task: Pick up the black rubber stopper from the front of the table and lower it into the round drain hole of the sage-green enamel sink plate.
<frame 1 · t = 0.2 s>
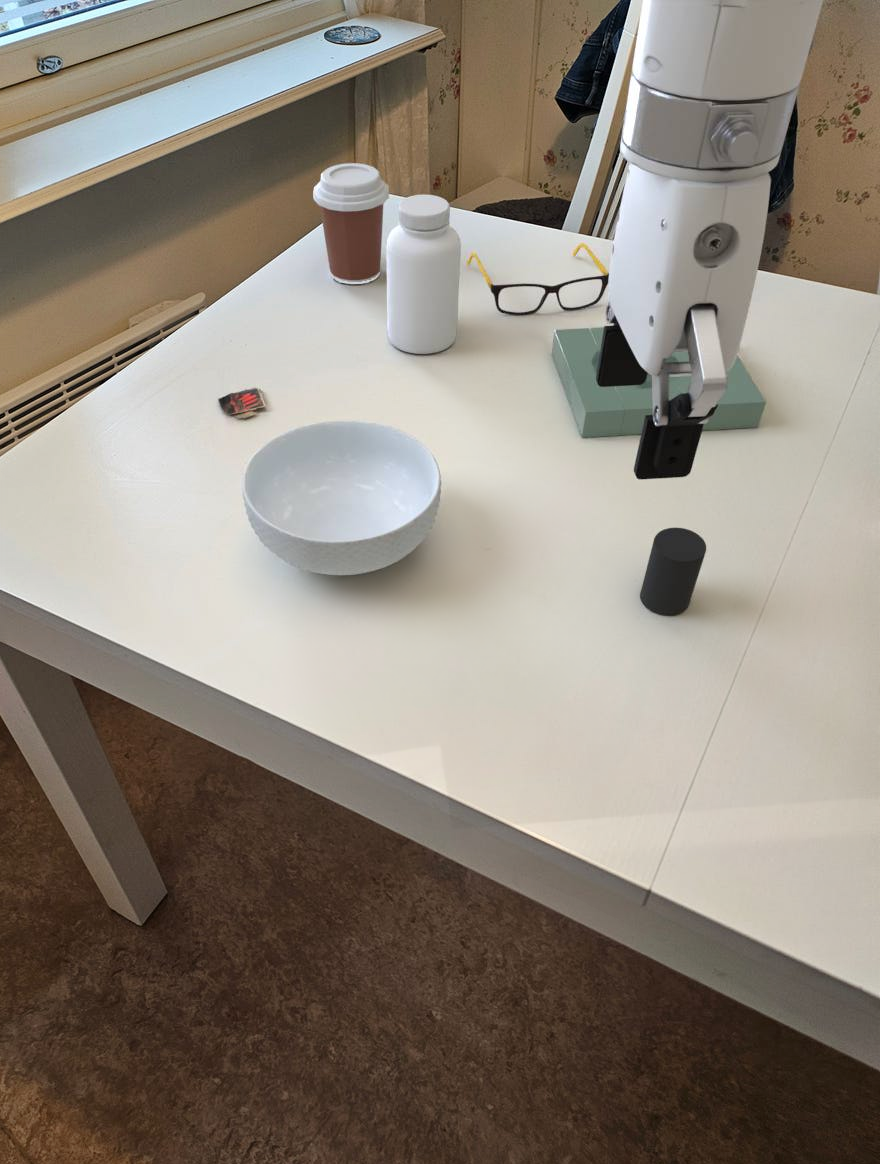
hand: (639, 426, 55), 21 cm above the table, tool pointing down, fingers open, 9 cm apart
pill bottle: (422, 340, 103), on the table
sink plate: (649, 389, 95), on the table
eyeglasses: (534, 288, 111), on the table
coffee cup: (355, 275, 115), on the table
matchbox: (243, 407, 94), on the table
cereal bowl: (346, 540, 80), on the table
stopper: (664, 598, 74), on the table
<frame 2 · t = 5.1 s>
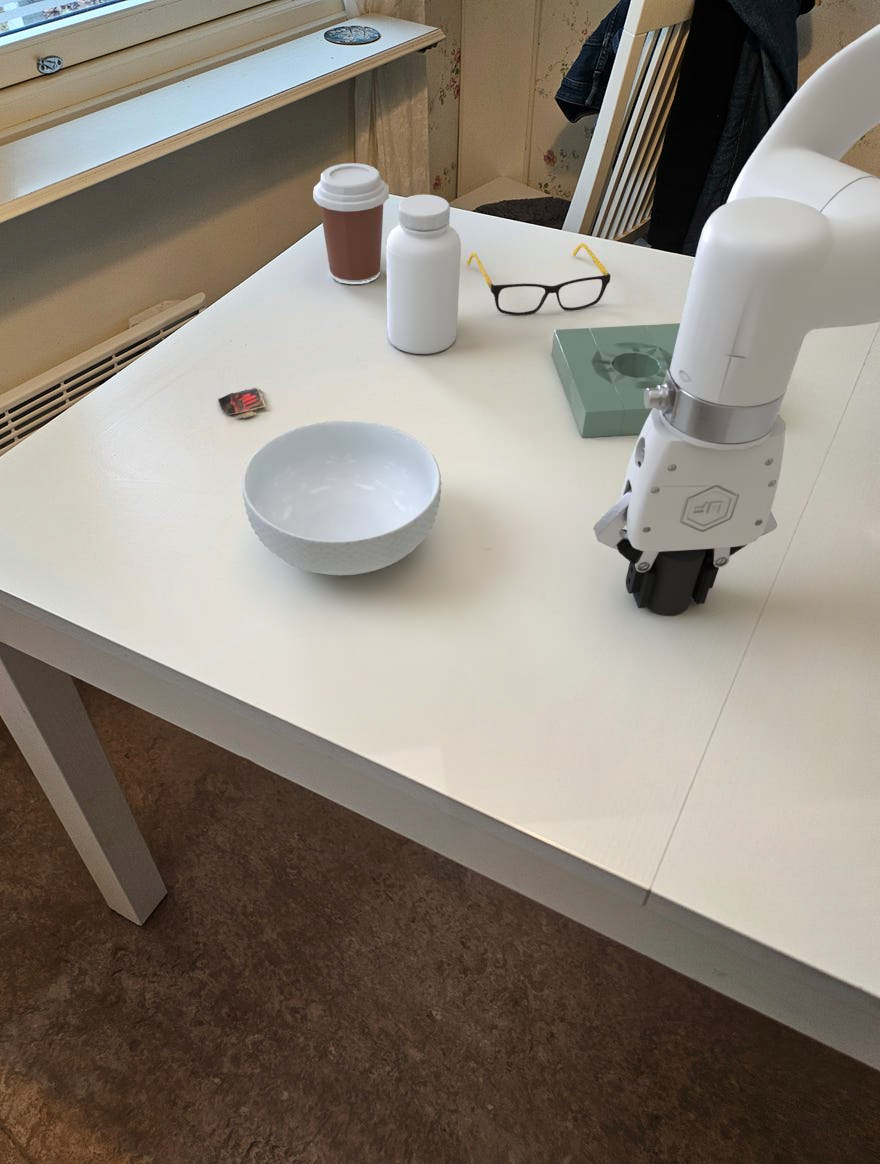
hand: (666, 592, 74), 1 cm above the table, tool pointing down, fingers closed on stopper, 4 cm apart
stopper: (664, 598, 74), on the table, touching gripper
everything else where it was.
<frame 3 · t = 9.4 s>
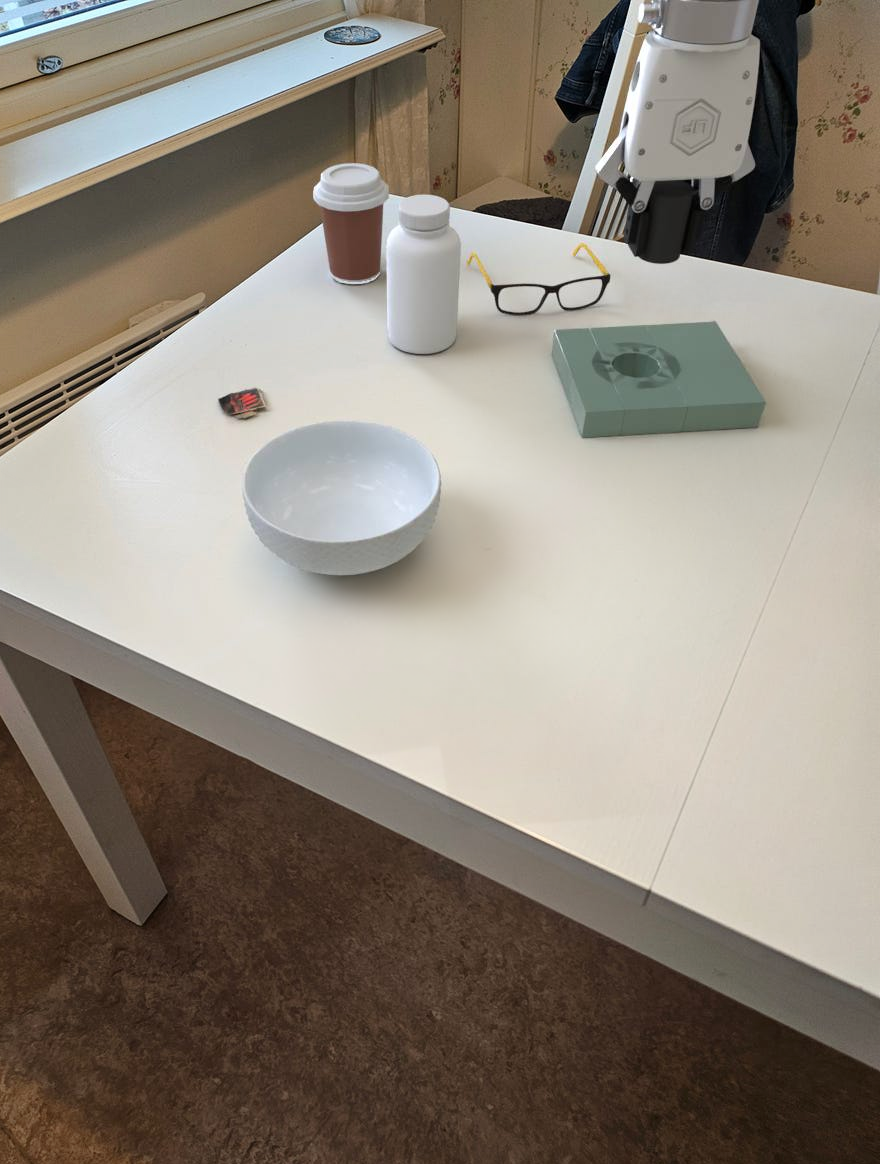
hand: (659, 247, 84), 15 cm above the table, tool pointing down, fingers closed on stopper, 4 cm apart
stopper: (658, 254, 85), point 15 cm above the table, touching gripper
everything else where it was.
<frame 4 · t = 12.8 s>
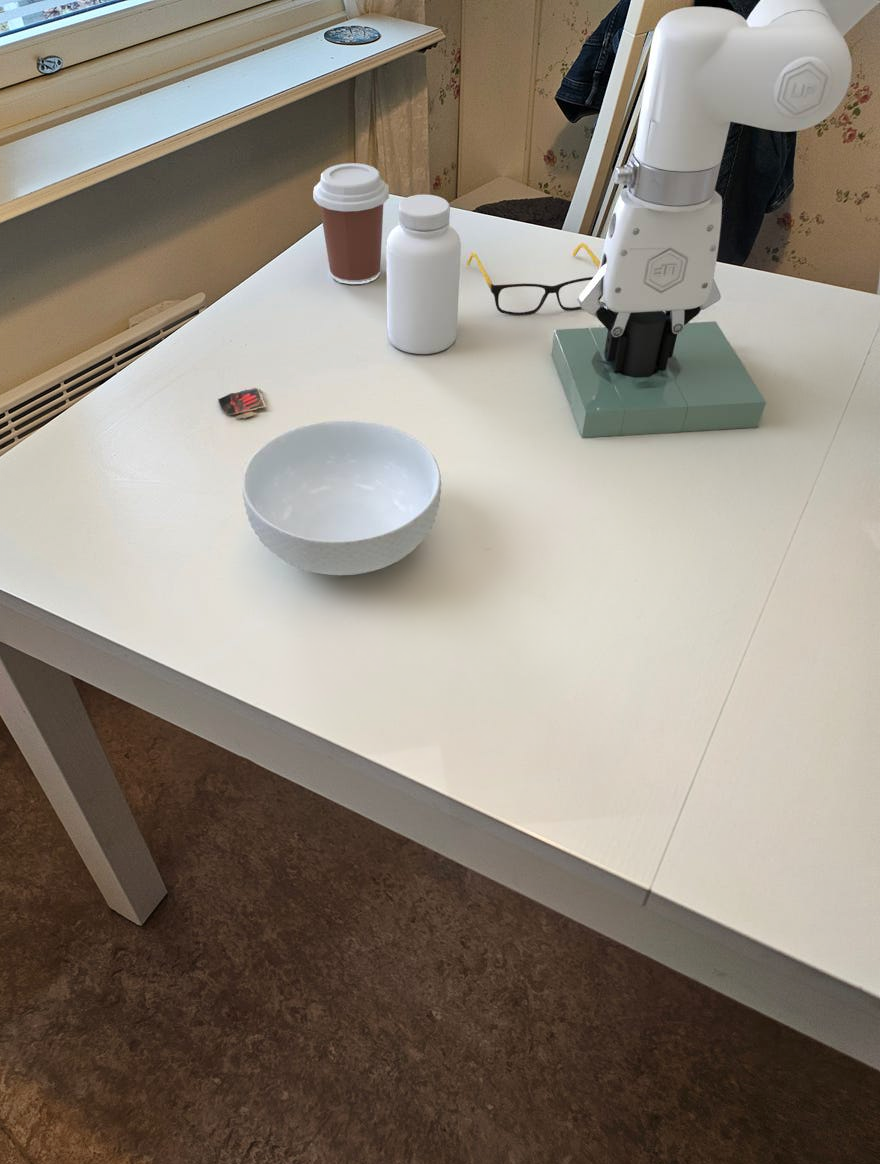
hand: (636, 362, 93), 3 cm above the table, tool pointing down, fingers closed on stopper, 4 cm apart
stopper: (635, 369, 94), point 3 cm above the table, touching gripper
everything else where it was.
when the fingers open (3 cm above the table, at t = 13.6 s): stopper drops 3 cm, resting in sink plate.
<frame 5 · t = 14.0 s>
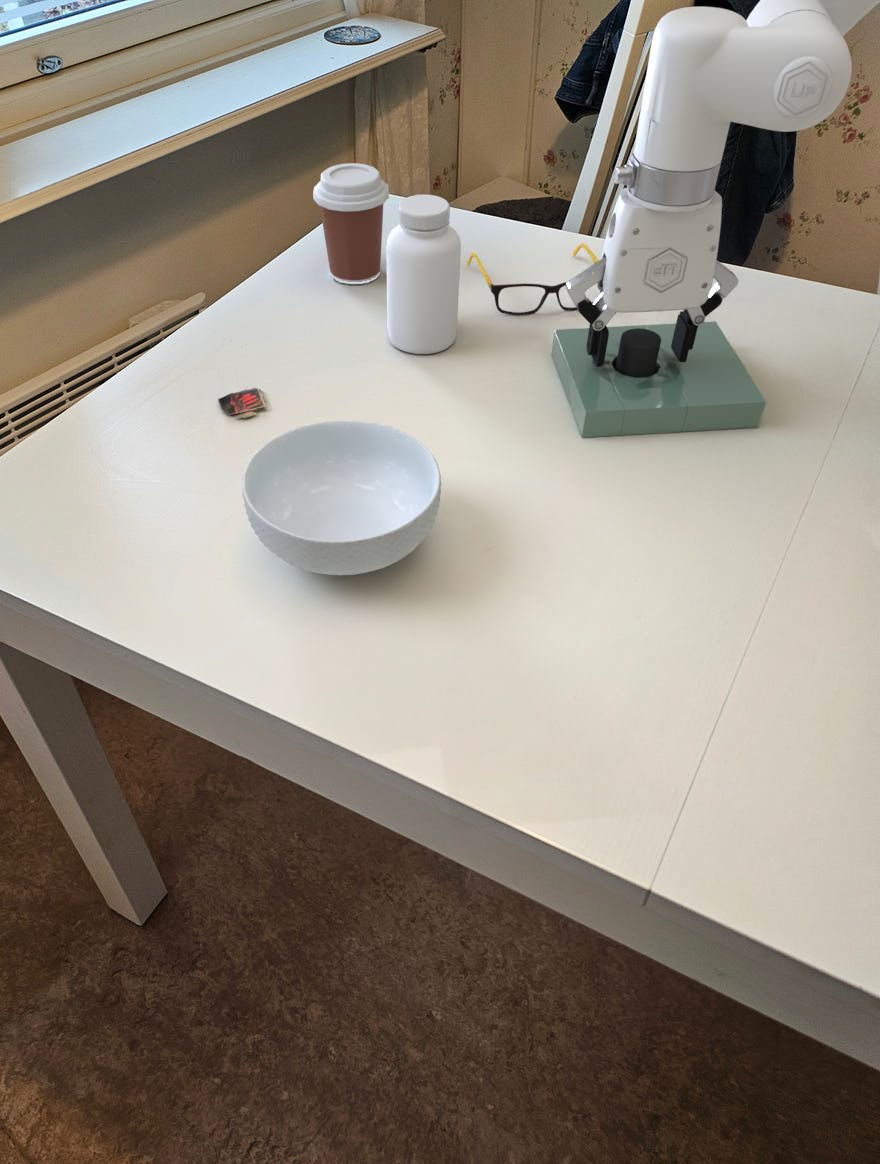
hand: (637, 356, 92), 4 cm above the table, tool pointing down, fingers open, 8 cm apart
stopper: (630, 390, 95), resting in sink plate
everything else where it was.
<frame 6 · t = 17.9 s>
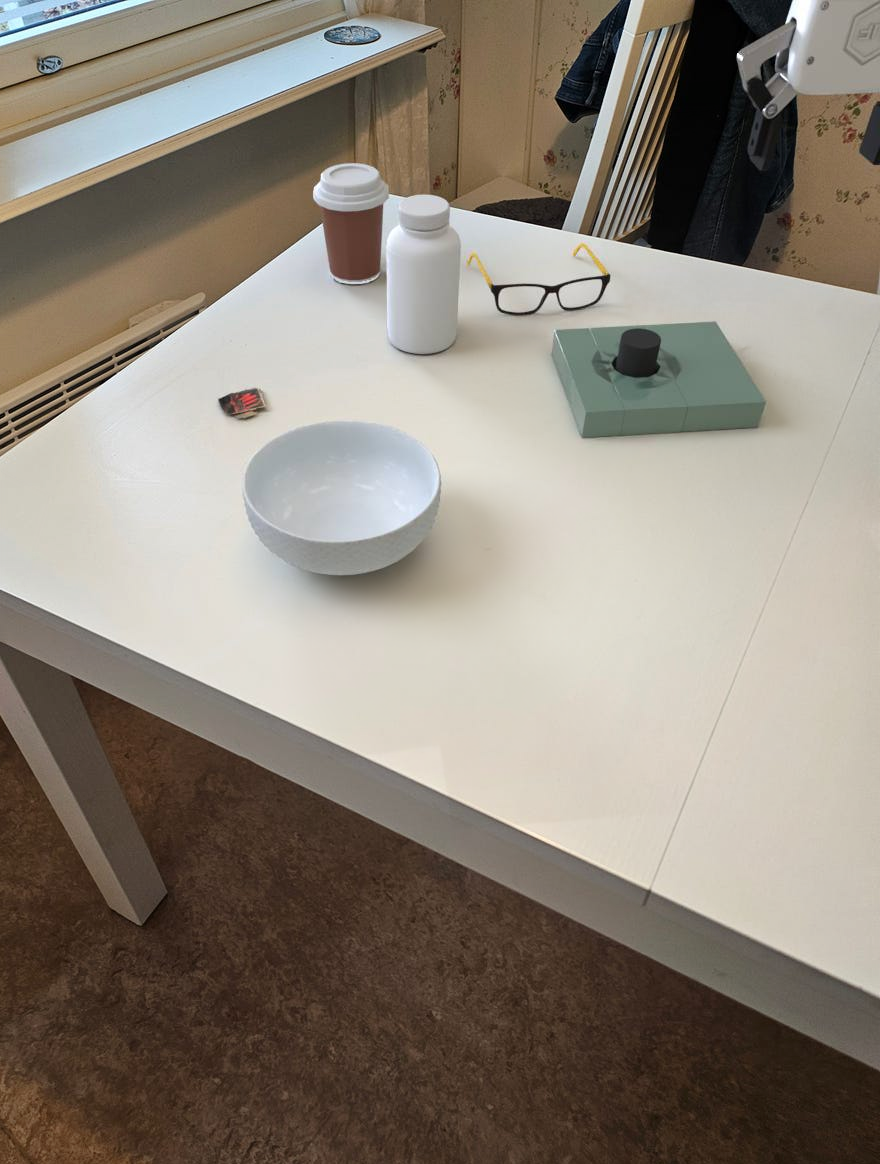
hand: (814, 162, 77), 23 cm above the table, tool pointing down, fingers open, 9 cm apart
nothing on the table moved.
at the end: stopper 0.0 cm from the target spot in the sink plate, point 0.0 cm above the sink plate's base; stopper tilted 0° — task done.
